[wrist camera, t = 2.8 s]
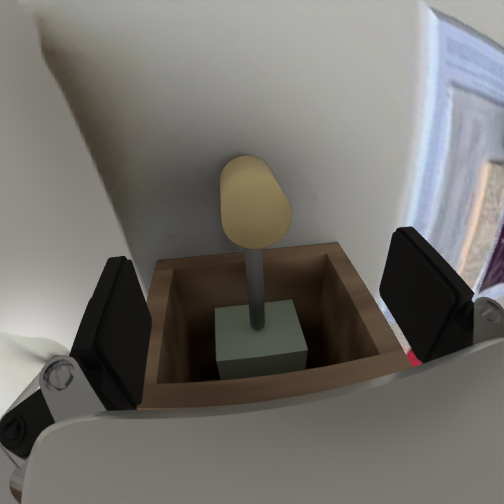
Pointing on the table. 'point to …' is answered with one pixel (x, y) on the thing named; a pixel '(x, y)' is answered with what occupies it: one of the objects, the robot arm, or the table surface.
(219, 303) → the box
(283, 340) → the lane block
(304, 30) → the table surface
